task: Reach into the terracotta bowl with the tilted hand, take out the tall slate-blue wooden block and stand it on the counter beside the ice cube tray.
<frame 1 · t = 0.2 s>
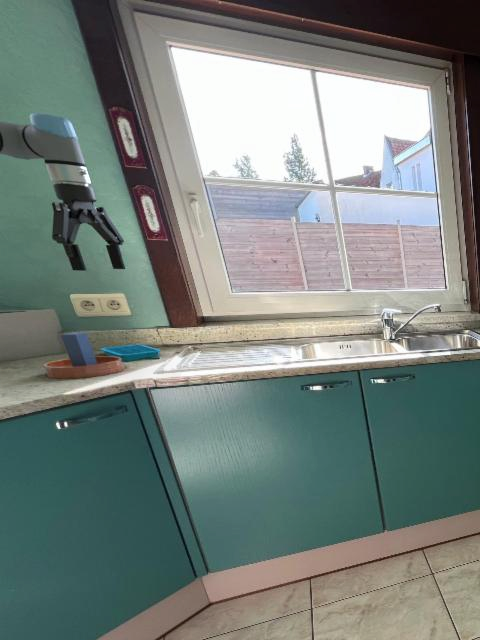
hand: (100, 269, 137), 32 cm above the worktop, tool pointing down, fingers open, 13 cm apart
bowl: (88, 374, 154), on the worktop
block: (87, 372, 154), point 1 cm above the worktop, touching bowl
ice cube tray: (133, 358, 177), on the worktop
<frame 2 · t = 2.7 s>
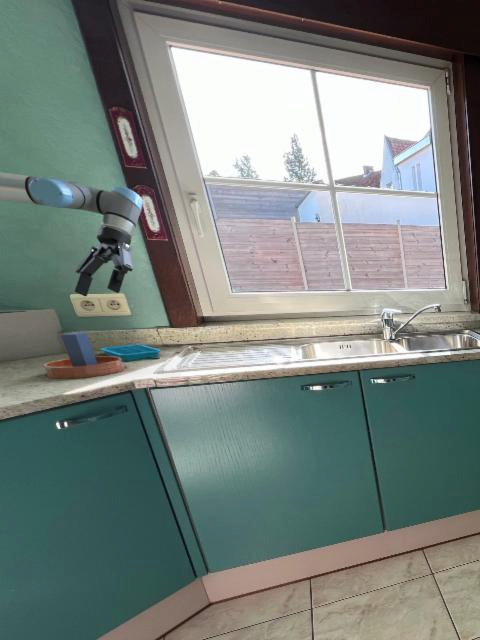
hand: (96, 292, 152), 24 cm above the worktop, tool tilted 35°, fingers open, 13 cm apart
nothing on the worktop moved.
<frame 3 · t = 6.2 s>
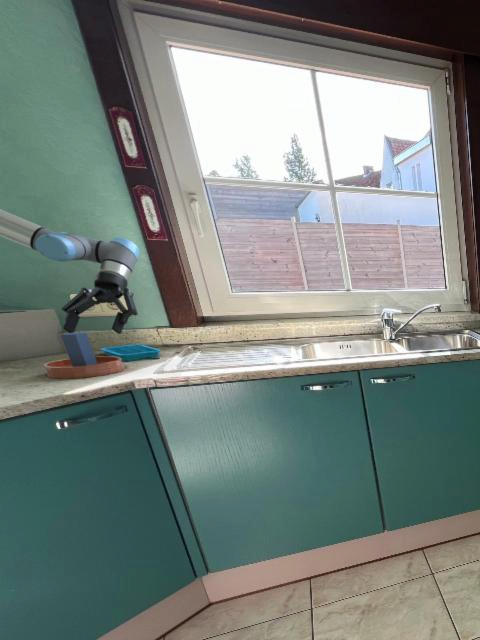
hand: (92, 331, 156), 12 cm above the worktop, tool tilted 45°, fingers open, 13 cm apart
nothing on the worktop moved.
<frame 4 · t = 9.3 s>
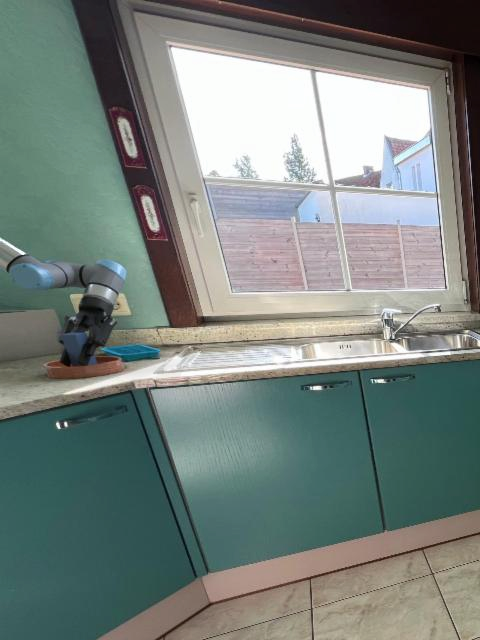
hand: (73, 364, 149), 4 cm above the worktop, tool tilted 45°, fingers closed on block, 4 cm apart
block: (87, 372, 154), point 1 cm above the worktop, touching bowl, gripper
everything else where it was.
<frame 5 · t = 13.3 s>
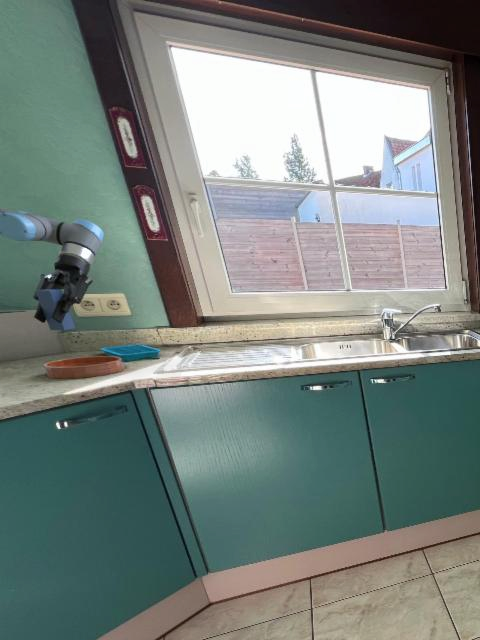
hand: (48, 319, 151), 16 cm above the worktop, tool tilted 45°, fingers closed on block, 4 cm apart
block: (63, 329, 156), point 13 cm above the worktop, touching gripper
everything else where it was.
when the fingers open (3 cm above the worktop, at t = 17.3 s): block stays where it is, on the worktop.
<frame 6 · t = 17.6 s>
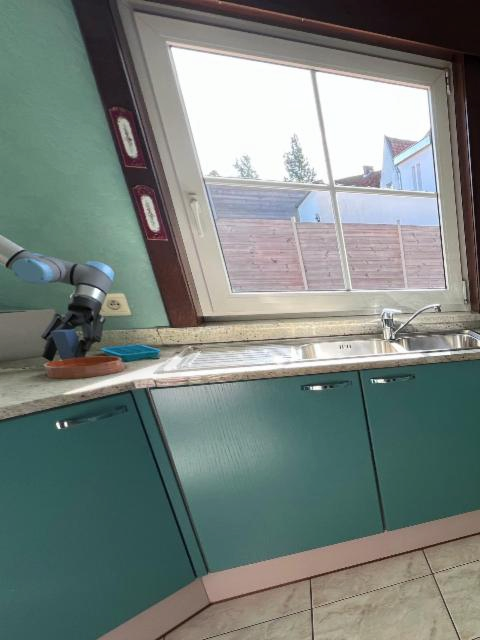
hand: (62, 358, 158), 4 cm above the worktop, tool tilted 45°, fingers open, 8 cm apart
block: (76, 367, 162), on the worktop
everything else where it was.
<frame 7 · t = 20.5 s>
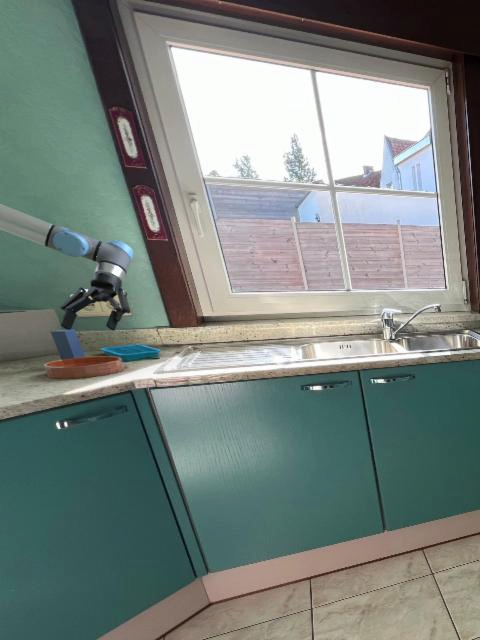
hand: (88, 328, 167), 11 cm above the worktop, tool tilted 45°, fingers open, 13 cm apart
nothing on the worktop moved.
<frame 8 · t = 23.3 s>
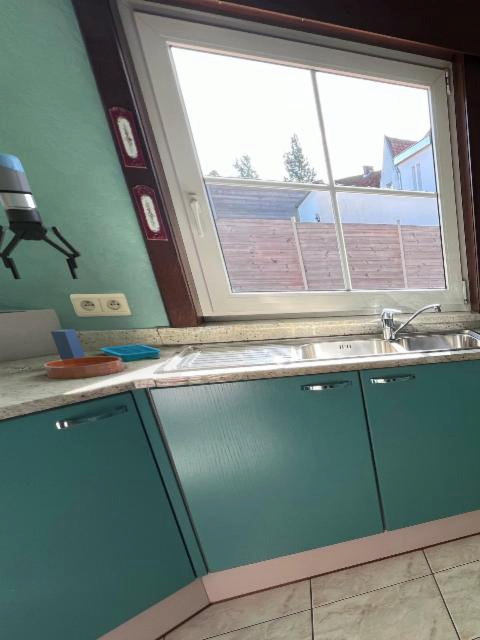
hand: (47, 279, 165), 27 cm above the worktop, tool pointing down, fingers open, 13 cm apart
nothing on the worktop moved.
at the end: block inside the target area on the worktop beside the ice cube tray (0.1 cm from its centre), on the worktop; block tilted 0°; block touching worktop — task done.
